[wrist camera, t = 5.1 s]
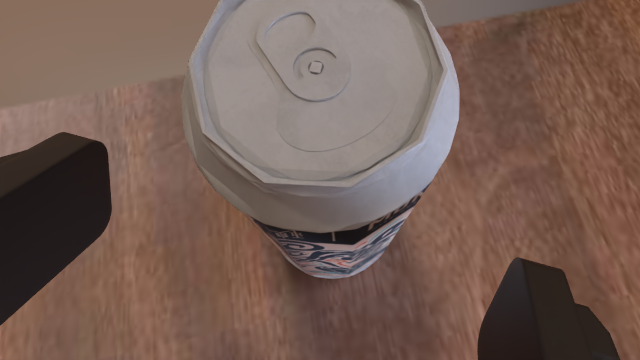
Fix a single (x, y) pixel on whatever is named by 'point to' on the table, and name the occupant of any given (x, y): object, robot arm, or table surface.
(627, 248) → the table surface
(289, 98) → the beer can
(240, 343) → the table surface
